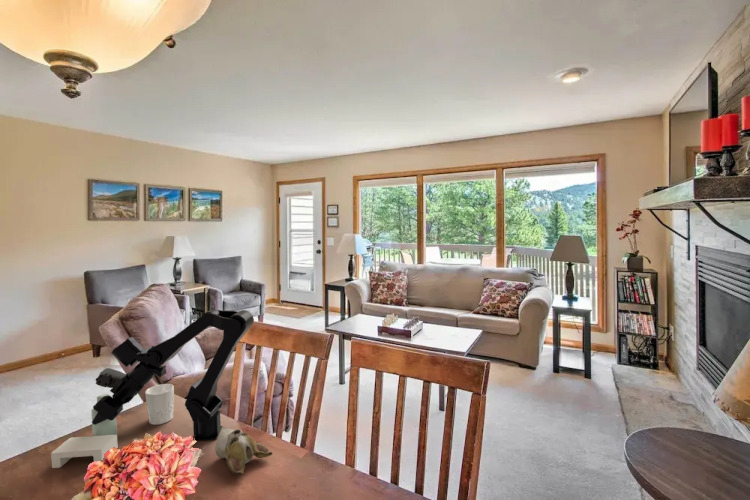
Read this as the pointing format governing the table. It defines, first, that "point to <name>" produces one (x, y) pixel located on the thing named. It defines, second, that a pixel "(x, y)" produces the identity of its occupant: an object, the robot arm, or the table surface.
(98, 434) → the sage spray can
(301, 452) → the table surface
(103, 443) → the shelf
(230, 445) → the ceramic sculpture
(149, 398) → the white cup
